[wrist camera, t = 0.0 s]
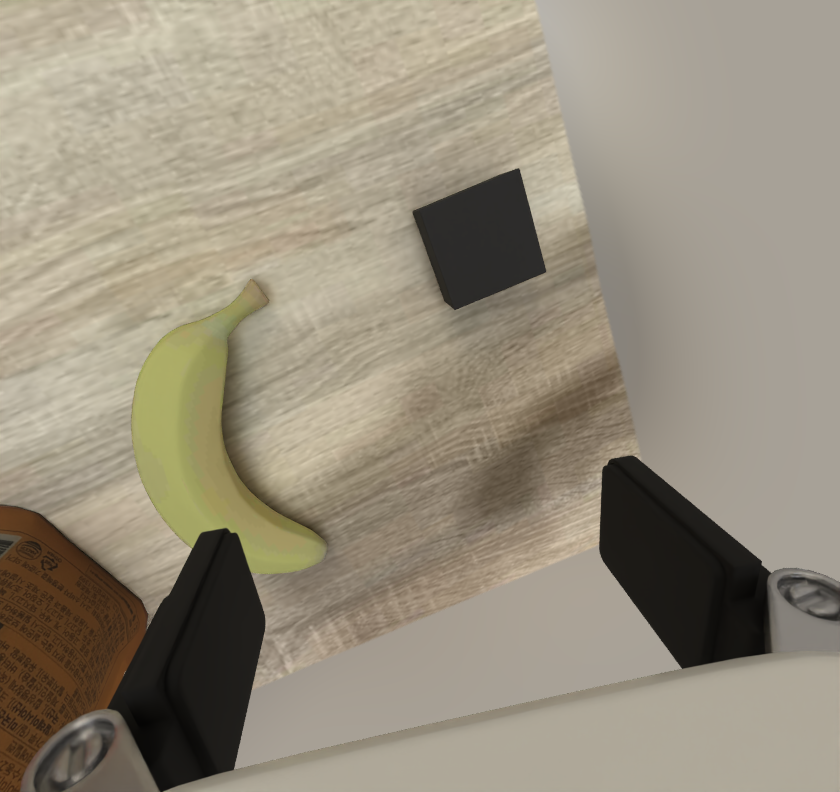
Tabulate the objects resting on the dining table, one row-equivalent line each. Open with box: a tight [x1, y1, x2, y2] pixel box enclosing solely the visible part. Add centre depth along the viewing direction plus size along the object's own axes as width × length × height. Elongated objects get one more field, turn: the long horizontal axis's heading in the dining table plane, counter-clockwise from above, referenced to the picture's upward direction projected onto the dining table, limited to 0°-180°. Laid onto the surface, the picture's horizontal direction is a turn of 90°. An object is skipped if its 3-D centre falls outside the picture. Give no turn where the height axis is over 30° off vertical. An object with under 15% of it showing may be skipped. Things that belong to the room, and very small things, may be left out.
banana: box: [131, 279, 328, 574], centre depth 30 cm, size 14×6×20 cm
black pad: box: [413, 168, 546, 310], centre depth 27 cm, size 6×6×3 cm
